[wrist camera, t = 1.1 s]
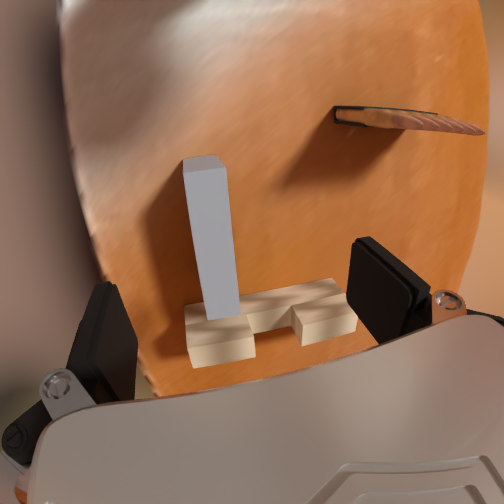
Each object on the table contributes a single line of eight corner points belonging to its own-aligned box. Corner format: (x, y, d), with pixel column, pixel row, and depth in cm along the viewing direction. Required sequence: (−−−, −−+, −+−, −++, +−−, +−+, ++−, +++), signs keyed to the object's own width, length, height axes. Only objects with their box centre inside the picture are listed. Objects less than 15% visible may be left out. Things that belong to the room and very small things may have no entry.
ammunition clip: (333, 123, 27) (413, 137, 17) (332, 105, 26) (413, 111, 16) (409, 124, 29) (489, 143, 18) (409, 109, 28) (490, 123, 17)
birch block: (189, 324, 34) (193, 368, 28) (184, 305, 33) (187, 348, 26) (329, 297, 37) (355, 331, 31) (331, 277, 36) (359, 310, 29)
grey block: (183, 158, 26) (183, 173, 19) (215, 154, 26) (225, 167, 20) (201, 279, 32) (207, 320, 25) (228, 275, 32) (241, 314, 26)
